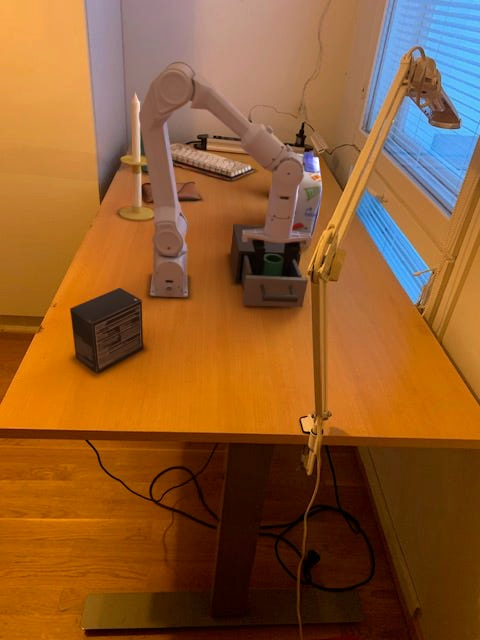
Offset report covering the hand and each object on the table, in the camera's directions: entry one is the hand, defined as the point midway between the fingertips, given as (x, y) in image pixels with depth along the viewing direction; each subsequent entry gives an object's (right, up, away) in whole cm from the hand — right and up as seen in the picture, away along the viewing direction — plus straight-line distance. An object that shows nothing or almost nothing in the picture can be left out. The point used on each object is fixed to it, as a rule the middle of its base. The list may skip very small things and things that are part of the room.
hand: (271, 272), depth 107 cm
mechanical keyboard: (-22, +49, +79) cm, 95 cm away
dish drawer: (0, -5, +1) cm, 5 cm away
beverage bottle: (-39, +41, +65) cm, 86 cm away
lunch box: (+8, +14, +32) cm, 36 cm away
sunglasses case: (-28, +28, +47) cm, 62 cm away
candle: (-36, +20, +34) cm, 54 cm away
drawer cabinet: (-2, +2, +13) cm, 13 cm away
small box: (-30, -16, -20) cm, 40 cm away
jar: (0, -1, +1) cm, 1 cm away
